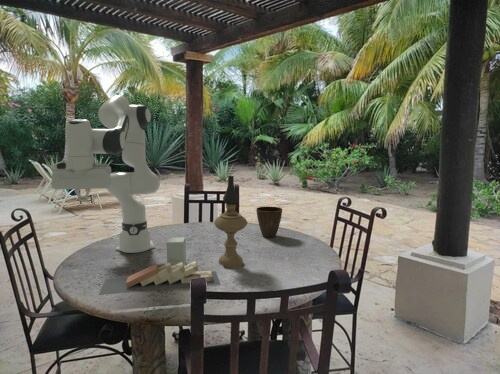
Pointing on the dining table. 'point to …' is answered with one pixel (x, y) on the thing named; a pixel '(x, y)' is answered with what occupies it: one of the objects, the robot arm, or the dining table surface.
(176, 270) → the domino
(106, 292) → the mat
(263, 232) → the plant pot
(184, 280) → the domino
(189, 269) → the domino
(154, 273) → the domino
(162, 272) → the domino
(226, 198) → the oil lamp
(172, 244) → the supplement box
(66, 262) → the dining table surface
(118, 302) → the dining table surface
